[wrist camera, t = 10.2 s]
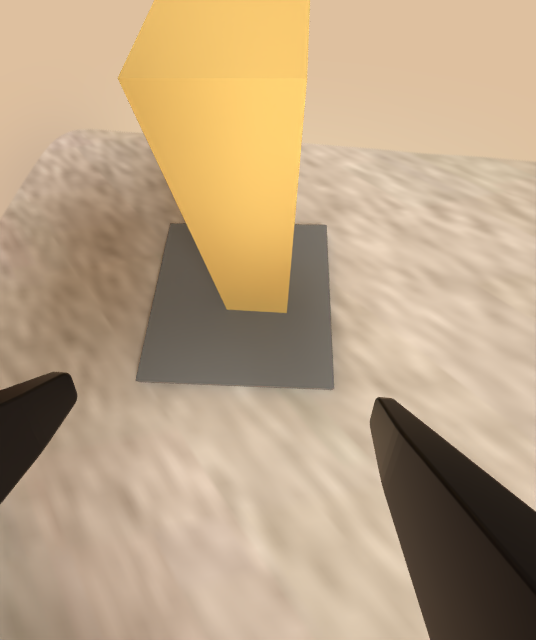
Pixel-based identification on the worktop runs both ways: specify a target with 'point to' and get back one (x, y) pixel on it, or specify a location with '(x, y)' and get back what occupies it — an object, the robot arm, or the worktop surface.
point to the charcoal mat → (239, 323)
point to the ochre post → (228, 131)
